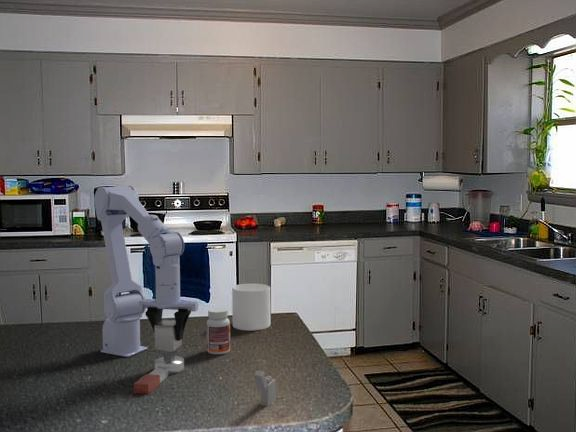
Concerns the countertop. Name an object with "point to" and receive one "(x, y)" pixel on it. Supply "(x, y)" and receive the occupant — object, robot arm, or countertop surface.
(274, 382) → the lighter
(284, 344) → the countertop surface
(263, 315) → the white cylinder
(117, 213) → the robot arm
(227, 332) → the pill bottle
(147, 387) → the ratchet
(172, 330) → the grey block
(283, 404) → the countertop surface
